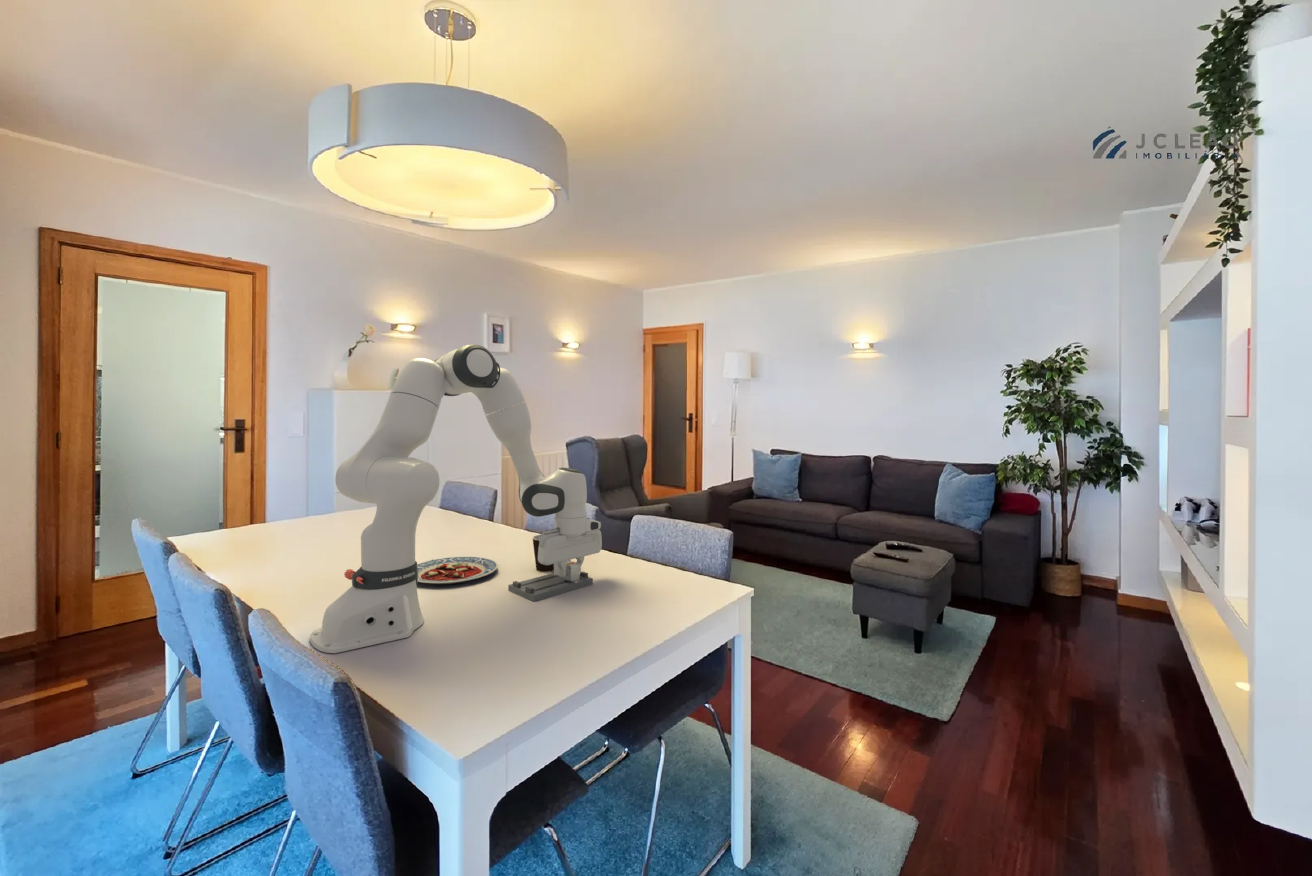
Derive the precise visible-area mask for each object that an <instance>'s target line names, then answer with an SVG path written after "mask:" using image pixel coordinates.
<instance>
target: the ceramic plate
mask: <svg viewBox="0 0 1312 876" xmlns="http://www.w3.org/2000/svg"><path fill="white" fill-rule="evenodd" d="M498 566H499V564H498V563H497V562H496V561H494V560H493V559H489V558H487V557H481V556H480V557H479V556H454V557H453V556H451V557H443V558H436V559H431V560H427V561H424V562H421V563H417V568H418V583H423V584H433V585H451V584H460V583H465V582H469V581H472V580H475V579H480V578H483V577H485V576H488V575H490V574H492V573H494V572H495V571H496V570H497V569H498Z"/></svg>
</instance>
